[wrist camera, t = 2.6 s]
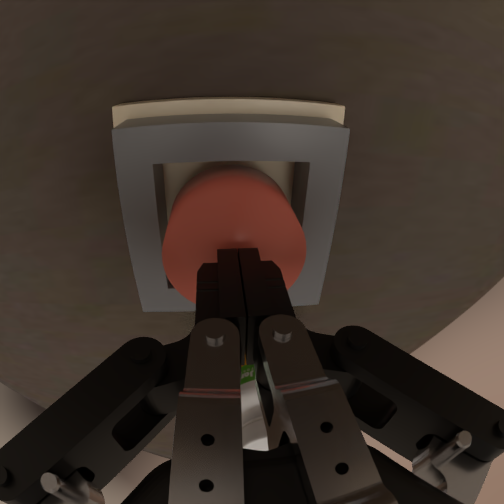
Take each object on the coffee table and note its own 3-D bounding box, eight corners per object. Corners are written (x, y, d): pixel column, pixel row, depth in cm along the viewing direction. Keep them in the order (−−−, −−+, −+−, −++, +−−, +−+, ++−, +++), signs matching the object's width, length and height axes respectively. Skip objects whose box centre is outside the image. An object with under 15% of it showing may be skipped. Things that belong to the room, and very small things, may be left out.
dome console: (119, 103, 13) (94, 115, 10) (336, 103, 14) (367, 114, 11) (143, 280, 19) (133, 320, 16) (311, 274, 20) (327, 312, 17)
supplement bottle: (240, 288, 20) (259, 425, 12) (306, 309, 22) (345, 429, 14) (207, 337, 23) (213, 459, 15) (268, 353, 25) (290, 462, 17)
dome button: (165, 166, 13) (153, 193, 10) (295, 164, 13) (315, 191, 11) (176, 272, 16) (171, 313, 13) (284, 268, 16) (296, 308, 14)
